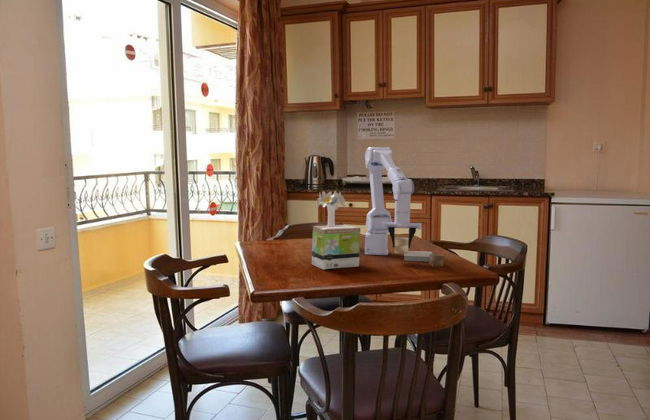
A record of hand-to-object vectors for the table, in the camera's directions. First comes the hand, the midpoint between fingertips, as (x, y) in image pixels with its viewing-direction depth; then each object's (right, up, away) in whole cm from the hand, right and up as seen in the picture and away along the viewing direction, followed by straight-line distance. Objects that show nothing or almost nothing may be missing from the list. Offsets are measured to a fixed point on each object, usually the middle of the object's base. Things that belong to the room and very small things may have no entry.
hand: (401, 247), depth 191 cm
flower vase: (-27, -2, +35) cm, 44 cm away
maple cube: (0, -2, 0) cm, 2 cm away
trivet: (+8, -5, +10) cm, 14 cm away
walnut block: (+13, -7, -2) cm, 15 cm away
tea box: (-25, -7, -5) cm, 26 cm away
